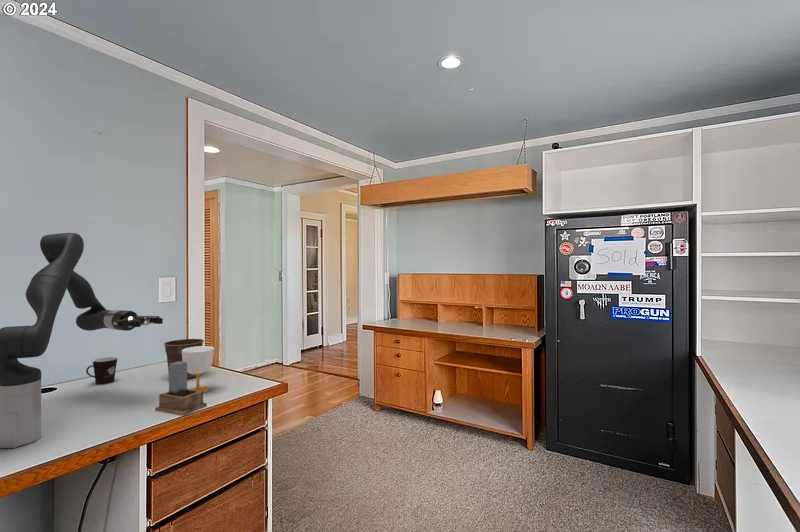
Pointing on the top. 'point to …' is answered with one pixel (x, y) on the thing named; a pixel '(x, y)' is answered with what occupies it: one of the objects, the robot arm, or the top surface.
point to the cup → (198, 362)
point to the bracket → (178, 379)
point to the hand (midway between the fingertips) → (151, 322)
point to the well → (181, 402)
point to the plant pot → (180, 350)
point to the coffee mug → (104, 370)
